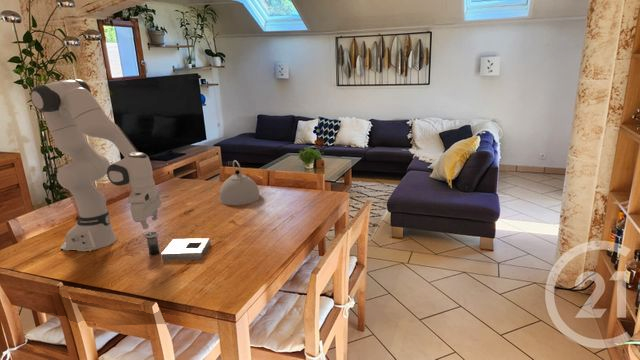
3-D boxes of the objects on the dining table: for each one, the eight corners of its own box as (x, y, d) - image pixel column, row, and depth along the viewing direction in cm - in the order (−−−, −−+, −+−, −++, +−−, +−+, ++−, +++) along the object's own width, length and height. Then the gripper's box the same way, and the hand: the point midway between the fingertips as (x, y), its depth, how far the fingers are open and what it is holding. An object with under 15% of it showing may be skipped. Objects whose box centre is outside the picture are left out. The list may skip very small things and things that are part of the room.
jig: (162, 260, 168) (161, 253, 168) (174, 245, 182) (173, 239, 181) (201, 259, 168) (200, 252, 167) (210, 244, 182) (209, 237, 181)
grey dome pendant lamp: (215, 195, 248) (211, 158, 242) (252, 189, 257) (249, 153, 251) (224, 207, 227) (220, 168, 220) (264, 200, 236) (261, 162, 229)
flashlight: (146, 256, 173) (142, 236, 170) (150, 250, 178) (147, 231, 175) (158, 255, 173) (154, 235, 170) (162, 250, 178) (159, 231, 175)
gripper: (147, 185, 178) (153, 215, 181) (125, 200, 158) (132, 234, 162) (161, 184, 177) (167, 214, 181) (141, 199, 158) (148, 233, 162)
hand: (150, 224), depth 171 cm, fingers open, 8 cm apart
